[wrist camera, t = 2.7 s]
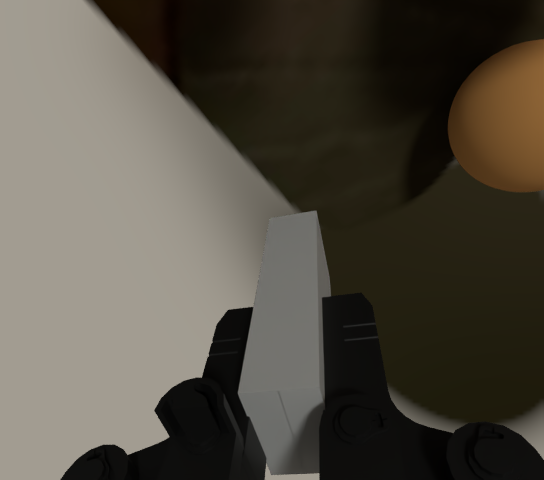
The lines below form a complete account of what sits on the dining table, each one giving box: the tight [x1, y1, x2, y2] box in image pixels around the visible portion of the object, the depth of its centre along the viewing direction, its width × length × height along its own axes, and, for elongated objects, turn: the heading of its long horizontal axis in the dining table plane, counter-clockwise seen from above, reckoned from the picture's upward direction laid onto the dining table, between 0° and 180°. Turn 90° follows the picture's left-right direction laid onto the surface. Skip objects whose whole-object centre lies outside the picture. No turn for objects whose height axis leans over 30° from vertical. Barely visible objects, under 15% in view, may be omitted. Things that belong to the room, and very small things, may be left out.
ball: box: [448, 39, 544, 192], centre depth 17 cm, size 6×6×6 cm
